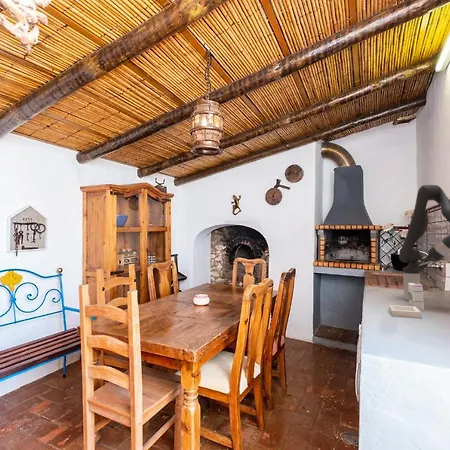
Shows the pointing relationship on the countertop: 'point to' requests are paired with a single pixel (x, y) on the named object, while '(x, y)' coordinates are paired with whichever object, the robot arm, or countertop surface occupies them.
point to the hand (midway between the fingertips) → (416, 268)
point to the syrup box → (416, 295)
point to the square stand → (404, 311)
